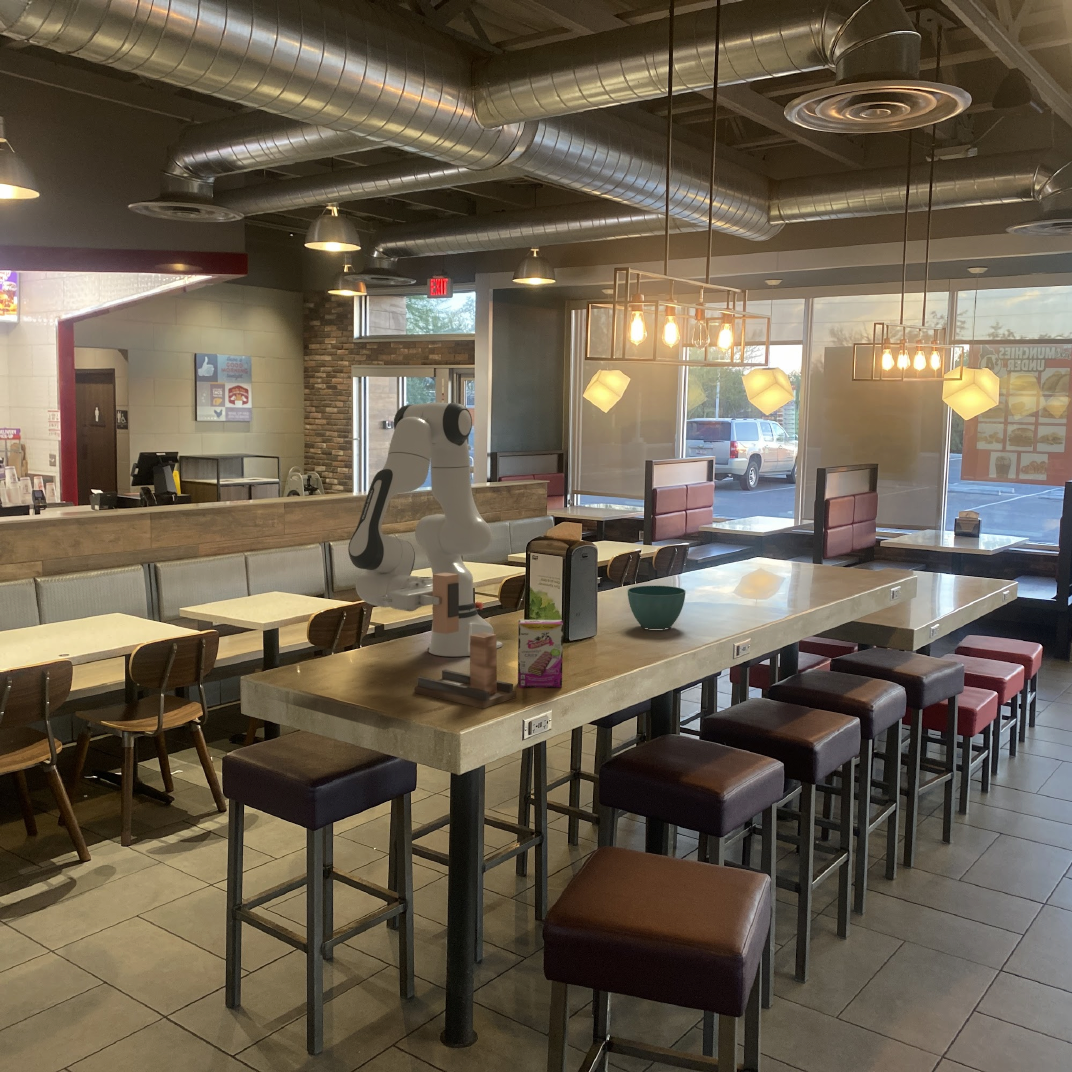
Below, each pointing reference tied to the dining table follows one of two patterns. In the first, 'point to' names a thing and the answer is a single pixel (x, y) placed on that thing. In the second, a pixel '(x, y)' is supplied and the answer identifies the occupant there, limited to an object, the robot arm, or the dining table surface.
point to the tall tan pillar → (446, 603)
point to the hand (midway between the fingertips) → (448, 599)
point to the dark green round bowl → (656, 605)
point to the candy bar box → (540, 653)
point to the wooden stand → (472, 678)
